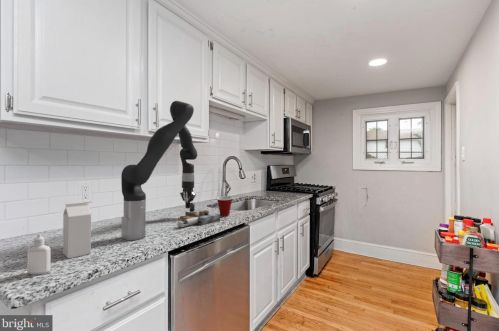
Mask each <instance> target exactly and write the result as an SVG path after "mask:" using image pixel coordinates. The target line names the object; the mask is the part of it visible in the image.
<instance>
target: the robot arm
mask: <svg viewBox="0 0 499 331" xmlns="http://www.w3.org/2000/svg"><path fill="white" fill-rule="evenodd" d="M194 109H195V108H194V106H193V105H192V104H191V103H187V102H184V101H180V100H174V101H172V102H171V104H170V107H169V113H170V117H171V120H172V121H171V122H169V123H167V124H165V125H162V126H160V127H159V128H158V129H157V130H156V131H155V132H154V133H153V135H152V136H151V137H150V138H149V141H148V145H147V148H146V151H145V154H144V156H143V157H142V158H141V159H140V161H139V162H138V163H137V164H128V165H126V166H125V167H123V169H122V171H121V176H120V177H121V182H120V183H121V194H122V196H123V216H121V224H120V225H121V228H120V229H121V232H120V234H121V237H120V238H121V239H122V240H125V241H127V242H128V241H138V240H141V239H144V238H146V232H147V231H146V222H147V220H146V213H147V212H146V211H147V209H146V207H147V205H146V204H147V202H146V201H147V200H146V199H147V195H146V193H145V192H144V190H143V189H142V186H143V185H144V184H146V183H147V182H148V180H149V179H150V178H151V176H152V173H153V172H154V170H155V169H156V167H157V166H158V163H159V162H160V161H161V159H162V158H163V156H164V154H165V153H166V151H168V149H169V148H170V146H172V143H173V142H174V140H175V139H176V137H177V136H178V137H179V142H180V147H181V149H180V151H179V158H180V160H181V165H182V167H181V168H182V172H181V173H182V174H181V189H182V192H179V194H180V197H181V199H182V201H184V204H185V205H184V207H185V209H190V203H192V202H194V199H195V197H196V196H197V194H196V193H195V192H194V188H195V165H194V164H193V163H189V162H188V161H187V160H189V161H193V160H196V159H197V157H198V151H197V149H196V147H195V145H194V143H193V142H194V141H193V136H192V133H191V132H190V130H189V128H188V127H187V126H186V125H187V124H188V122H189V121H190V120H191V119H192V117H193V115H194V113H195V112H194Z"/></svg>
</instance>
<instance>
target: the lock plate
mask: <svg viewBox="0 0 499 331" xmlns="http://www.w3.org/2000/svg"><path fill="white" fill-rule="evenodd" d="M193 212H197V213H199V216H195V213H191V211H190V210H189V211H185V215H179V221H182V222H184V220H185V219H189V218H194V217H198V223H196V224H195V225H199V226H205V225H209V224H213V223H218V222H220V221H221V216H220V213H211V214H209V212H210V211H209V210H207V209H204V210H199V211H193Z"/></svg>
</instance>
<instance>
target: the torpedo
mask: <svg viewBox="0 0 499 331" xmlns="http://www.w3.org/2000/svg"><path fill="white" fill-rule="evenodd" d="M196 223H198V217H194V218H189V219H185V220H184V221H183V220H178V221H177V225H176V226H177V227H179V228H183V227H188V226H191V225H197V224H196Z"/></svg>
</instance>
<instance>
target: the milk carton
mask: <svg viewBox="0 0 499 331" xmlns="http://www.w3.org/2000/svg"><path fill="white" fill-rule="evenodd" d="M90 209H91V208H90V207H89V202H88V201H87V202H85V201H84V202H75V203H66V204H65V209H64V211H63V213H62V217H63V220H62V221H63V223H62V225H63V226H62V228H63V229H62V235H63V236H62V254H63V255H64V256H65V257H66V258H67V259H74V258H78V257H82V256H85V255H86V256H87V255H89V254H91V253H92V252H91V251H92V248H91V247H92V212H91V210H90Z"/></svg>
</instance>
